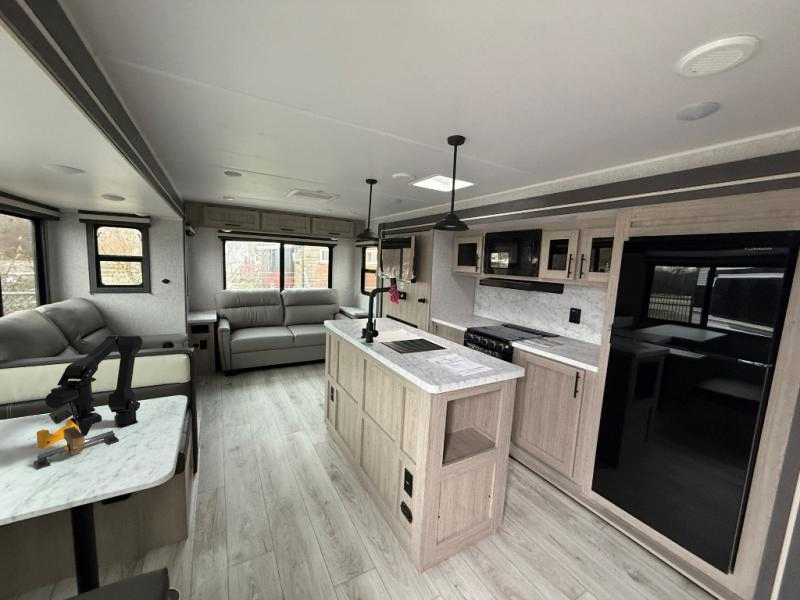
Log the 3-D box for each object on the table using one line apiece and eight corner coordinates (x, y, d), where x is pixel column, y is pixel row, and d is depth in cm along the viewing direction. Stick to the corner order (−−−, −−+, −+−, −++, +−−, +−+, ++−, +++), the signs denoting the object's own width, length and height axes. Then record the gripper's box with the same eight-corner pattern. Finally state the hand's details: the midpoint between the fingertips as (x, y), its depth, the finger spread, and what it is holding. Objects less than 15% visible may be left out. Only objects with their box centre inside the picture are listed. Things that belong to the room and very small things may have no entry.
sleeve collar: (75, 443, 125) (74, 426, 124) (85, 454, 118) (84, 436, 117) (64, 447, 122) (63, 429, 121) (74, 458, 116) (72, 439, 115)
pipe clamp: (70, 431, 135) (69, 416, 134) (78, 432, 134) (77, 417, 134) (34, 447, 123) (32, 431, 122) (43, 448, 123) (42, 432, 122)
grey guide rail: (113, 436, 132) (113, 427, 131) (119, 441, 129) (118, 431, 128) (33, 463, 113) (32, 452, 113) (37, 469, 110) (36, 458, 110)
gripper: (43, 397, 118) (47, 437, 120) (57, 410, 109) (61, 454, 110) (84, 388, 128) (87, 425, 129) (101, 399, 118) (103, 440, 120)
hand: (84, 435), depth 122 cm, fingers closed
